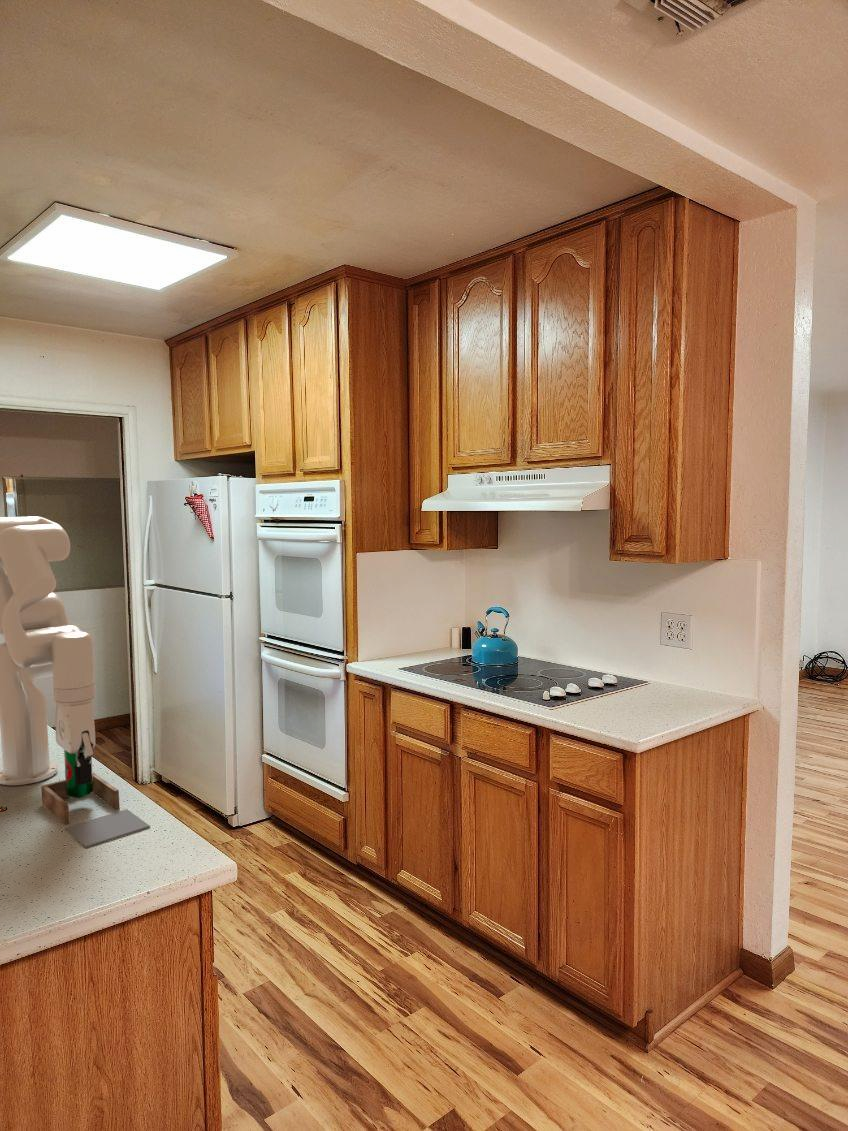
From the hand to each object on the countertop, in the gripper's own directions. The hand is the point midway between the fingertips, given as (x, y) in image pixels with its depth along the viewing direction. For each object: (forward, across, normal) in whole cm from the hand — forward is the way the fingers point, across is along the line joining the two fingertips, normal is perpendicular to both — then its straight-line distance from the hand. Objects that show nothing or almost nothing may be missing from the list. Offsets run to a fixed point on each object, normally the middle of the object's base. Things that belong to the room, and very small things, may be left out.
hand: (78, 778), depth 156 cm
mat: (+6, +14, 0) cm, 16 cm away
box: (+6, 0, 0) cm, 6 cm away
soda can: (+4, 0, 0) cm, 4 cm away
